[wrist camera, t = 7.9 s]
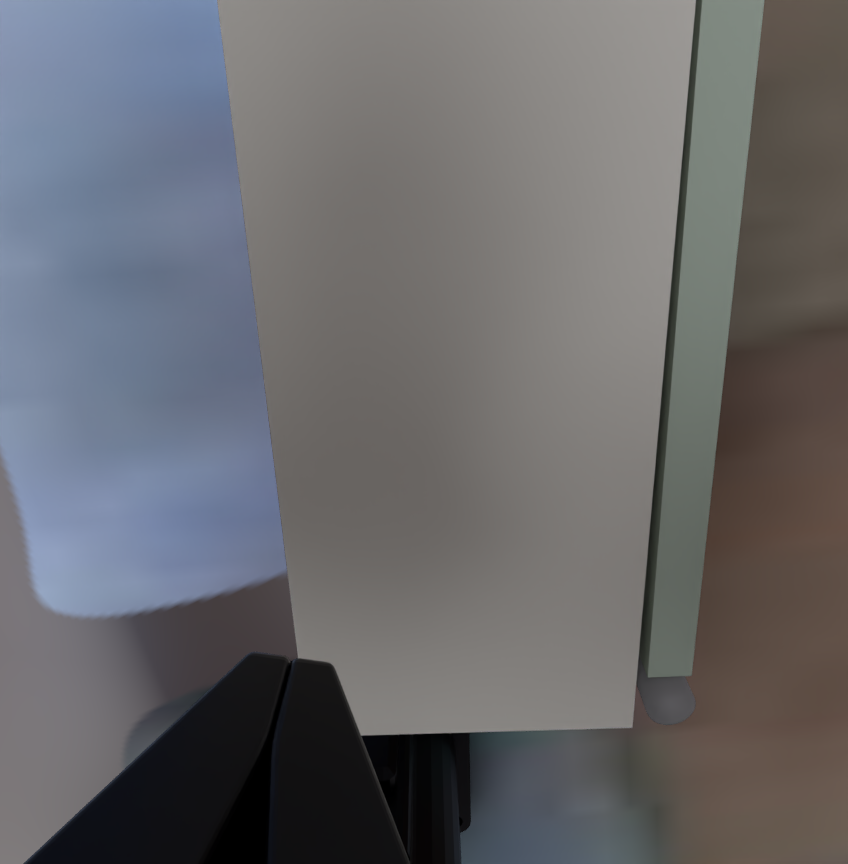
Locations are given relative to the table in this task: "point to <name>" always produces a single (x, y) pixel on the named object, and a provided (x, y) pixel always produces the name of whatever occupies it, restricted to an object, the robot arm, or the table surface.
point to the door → (696, 344)
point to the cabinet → (463, 338)
